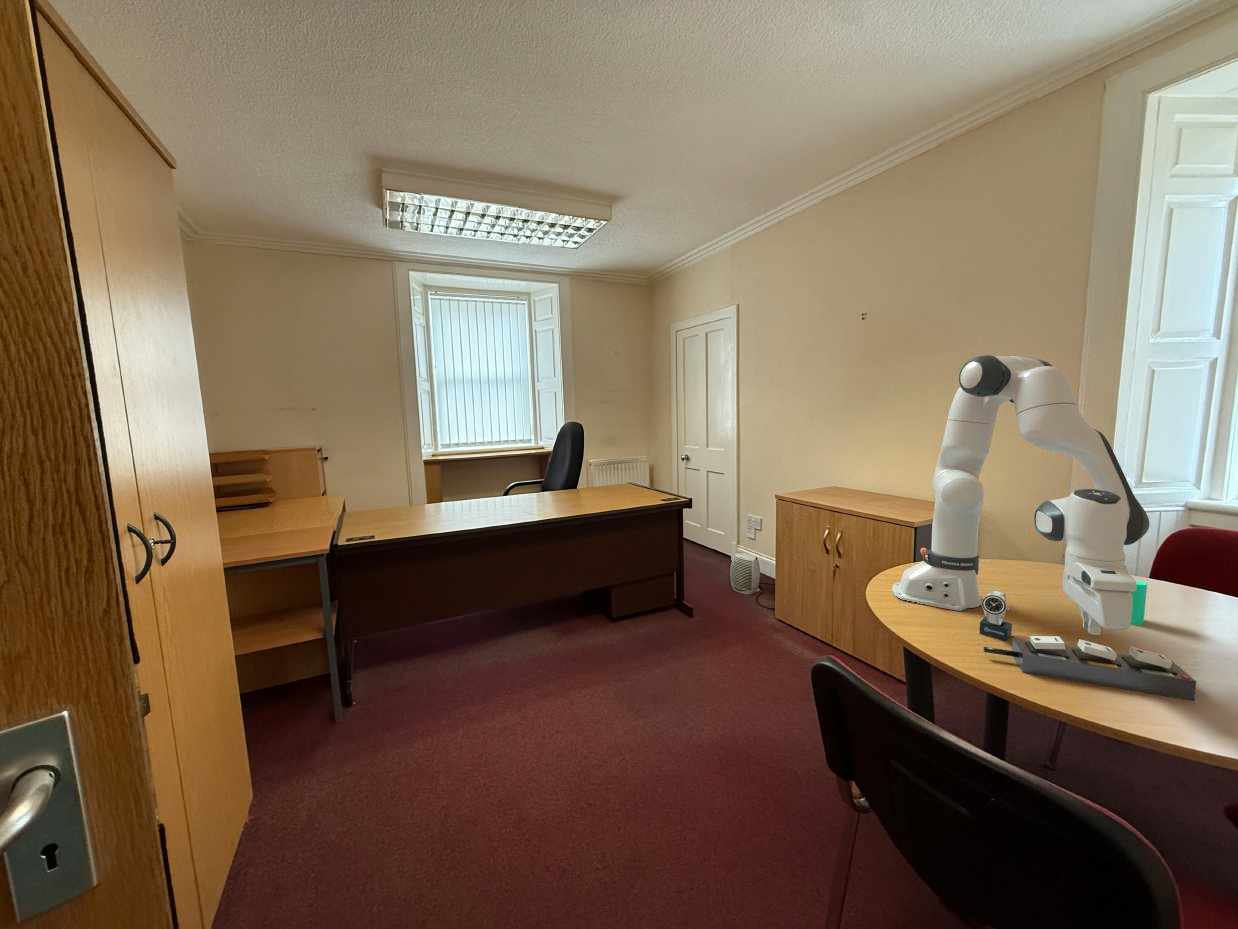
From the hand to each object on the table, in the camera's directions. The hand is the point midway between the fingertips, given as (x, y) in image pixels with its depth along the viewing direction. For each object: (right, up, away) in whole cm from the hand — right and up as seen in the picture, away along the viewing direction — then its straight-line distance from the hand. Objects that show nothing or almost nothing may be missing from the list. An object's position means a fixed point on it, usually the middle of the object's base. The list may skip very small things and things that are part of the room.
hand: (1091, 631), depth 100 cm
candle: (+33, -6, +24) cm, 42 cm away
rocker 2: (+1, -4, 0) cm, 4 cm away
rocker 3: (+8, -4, -4) cm, 10 cm away
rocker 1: (-6, -4, +4) cm, 8 cm away
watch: (-5, -8, +19) cm, 21 cm away
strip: (-2, -9, +2) cm, 10 cm away
